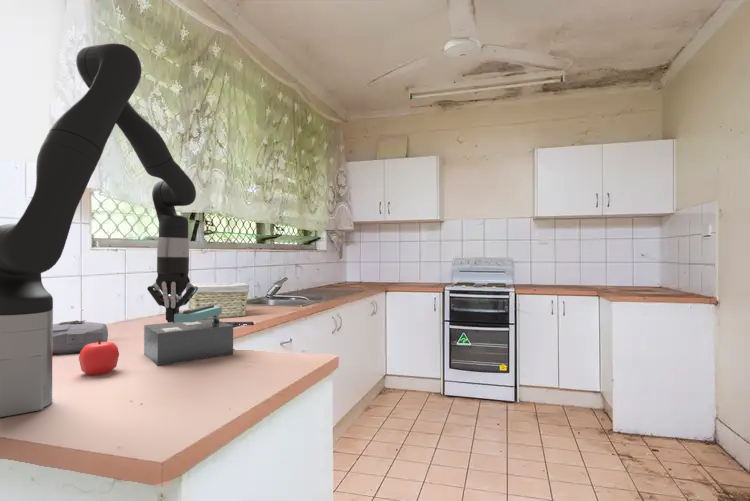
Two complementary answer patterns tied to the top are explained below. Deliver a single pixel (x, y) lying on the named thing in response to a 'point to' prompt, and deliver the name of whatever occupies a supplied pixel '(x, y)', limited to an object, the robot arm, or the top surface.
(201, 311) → the bar
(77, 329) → the small grey backpack
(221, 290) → the storage basket
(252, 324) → the squeegee
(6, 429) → the top surface
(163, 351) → the box
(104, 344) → the apple
